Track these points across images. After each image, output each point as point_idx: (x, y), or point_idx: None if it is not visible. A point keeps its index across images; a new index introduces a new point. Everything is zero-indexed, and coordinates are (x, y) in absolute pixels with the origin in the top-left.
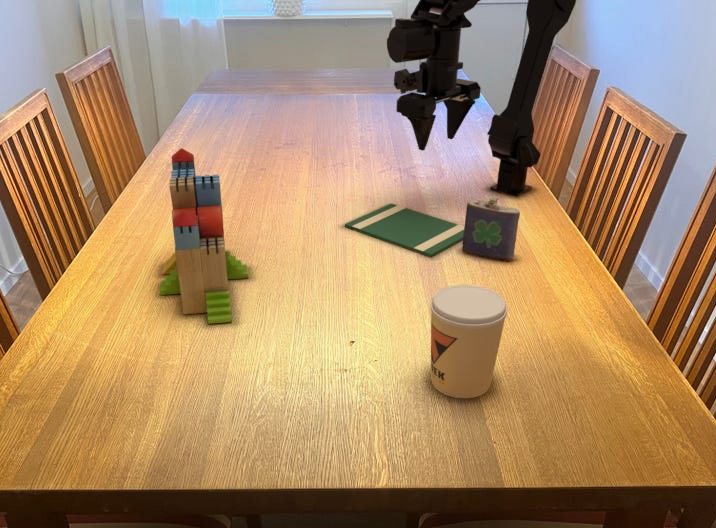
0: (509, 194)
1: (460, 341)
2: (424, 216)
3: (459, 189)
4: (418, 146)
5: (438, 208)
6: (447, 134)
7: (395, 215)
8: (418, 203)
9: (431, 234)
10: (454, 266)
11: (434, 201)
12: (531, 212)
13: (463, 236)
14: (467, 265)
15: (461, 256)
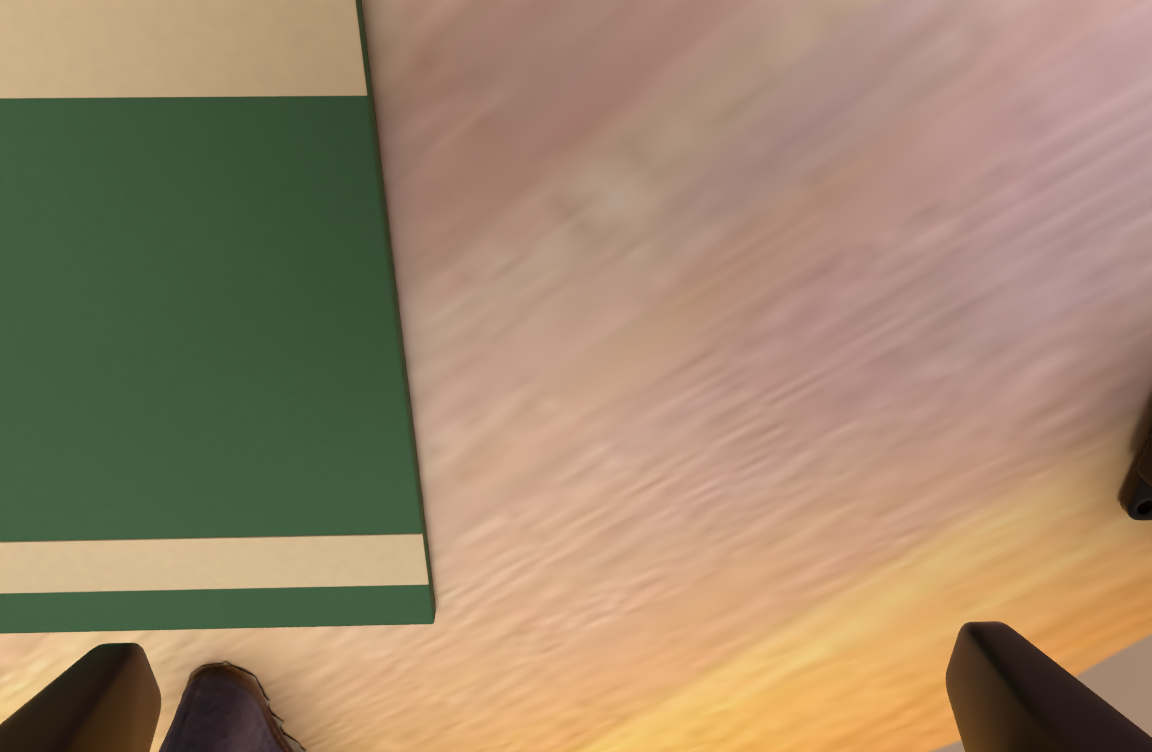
0: (1136, 470)
1: None
2: (352, 312)
3: (1113, 130)
4: (56, 686)
5: (612, 251)
6: (992, 669)
7: (170, 133)
8: (594, 58)
9: (167, 505)
10: None
11: (724, 137)
12: (909, 652)
13: (165, 740)
14: None
15: None
